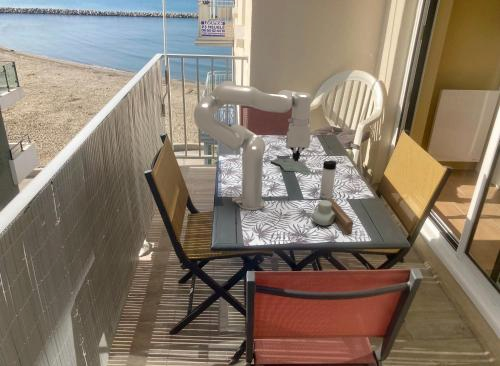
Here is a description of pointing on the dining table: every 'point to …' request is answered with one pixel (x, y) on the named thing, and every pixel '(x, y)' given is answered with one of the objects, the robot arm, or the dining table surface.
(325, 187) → the travel mug
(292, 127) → the robot arm
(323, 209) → the air freshener
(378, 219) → the dining table surface
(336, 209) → the board
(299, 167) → the decorative slab
